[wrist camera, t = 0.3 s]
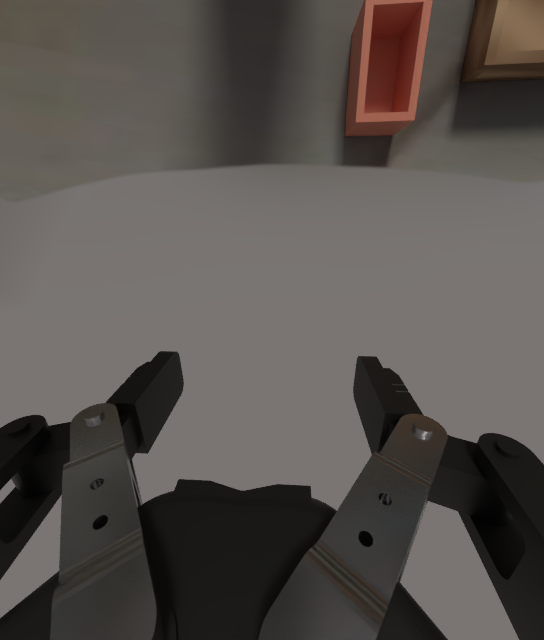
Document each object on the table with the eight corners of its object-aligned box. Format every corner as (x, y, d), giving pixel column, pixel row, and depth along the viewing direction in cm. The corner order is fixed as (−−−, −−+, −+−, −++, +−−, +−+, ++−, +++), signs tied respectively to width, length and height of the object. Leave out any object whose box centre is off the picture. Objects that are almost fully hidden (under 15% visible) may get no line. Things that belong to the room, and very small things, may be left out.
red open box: (351, 34, 29) (366, -6, 23) (406, 31, 28) (434, -11, 23) (344, 136, 32) (355, 122, 27) (392, 135, 32) (414, 120, 26)
